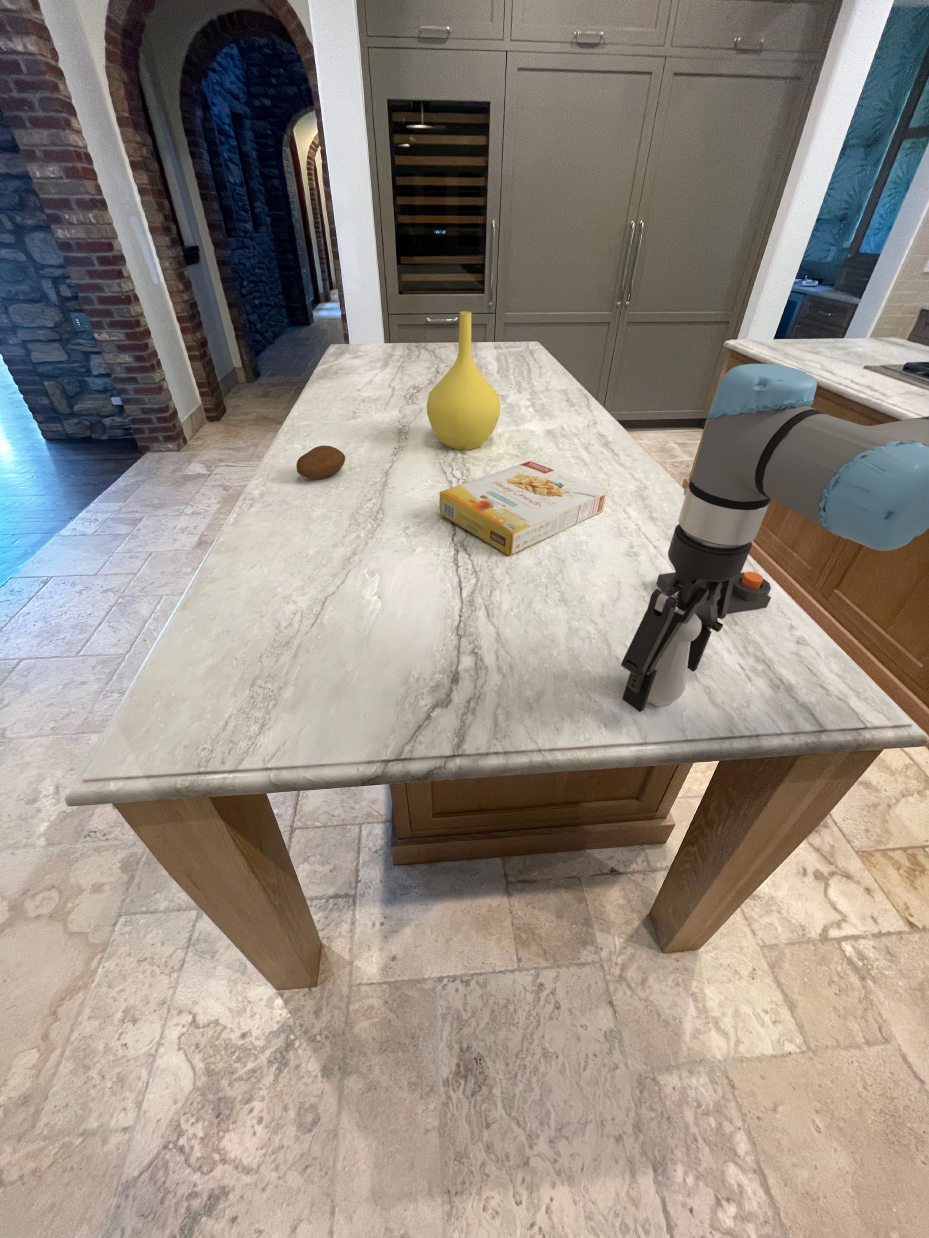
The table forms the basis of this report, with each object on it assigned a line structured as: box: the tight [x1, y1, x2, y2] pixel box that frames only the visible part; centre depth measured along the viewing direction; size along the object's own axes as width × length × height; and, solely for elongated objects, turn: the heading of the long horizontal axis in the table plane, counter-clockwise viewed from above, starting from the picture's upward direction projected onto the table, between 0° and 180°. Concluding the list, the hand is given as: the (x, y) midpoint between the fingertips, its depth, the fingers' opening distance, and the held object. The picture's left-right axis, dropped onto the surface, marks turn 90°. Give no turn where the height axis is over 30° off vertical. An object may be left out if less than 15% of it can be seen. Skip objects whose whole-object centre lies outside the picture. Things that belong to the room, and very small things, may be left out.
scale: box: [655, 571, 772, 615], centre depth 86 cm, size 14×10×4 cm
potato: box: [295, 445, 346, 480], centre depth 118 cm, size 7×12×7 cm, turn 136°
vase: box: [426, 310, 501, 451], centre depth 130 cm, size 18×18×30 cm
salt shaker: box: [647, 609, 702, 707], centre depth 66 cm, size 6×6×13 cm
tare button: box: [741, 571, 764, 589], centre depth 84 cm, size 3×3×2 cm
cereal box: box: [438, 458, 608, 557], centre depth 107 cm, size 20×6×28 cm
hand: (660, 683), depth 68 cm, fingers open, 11 cm apart
